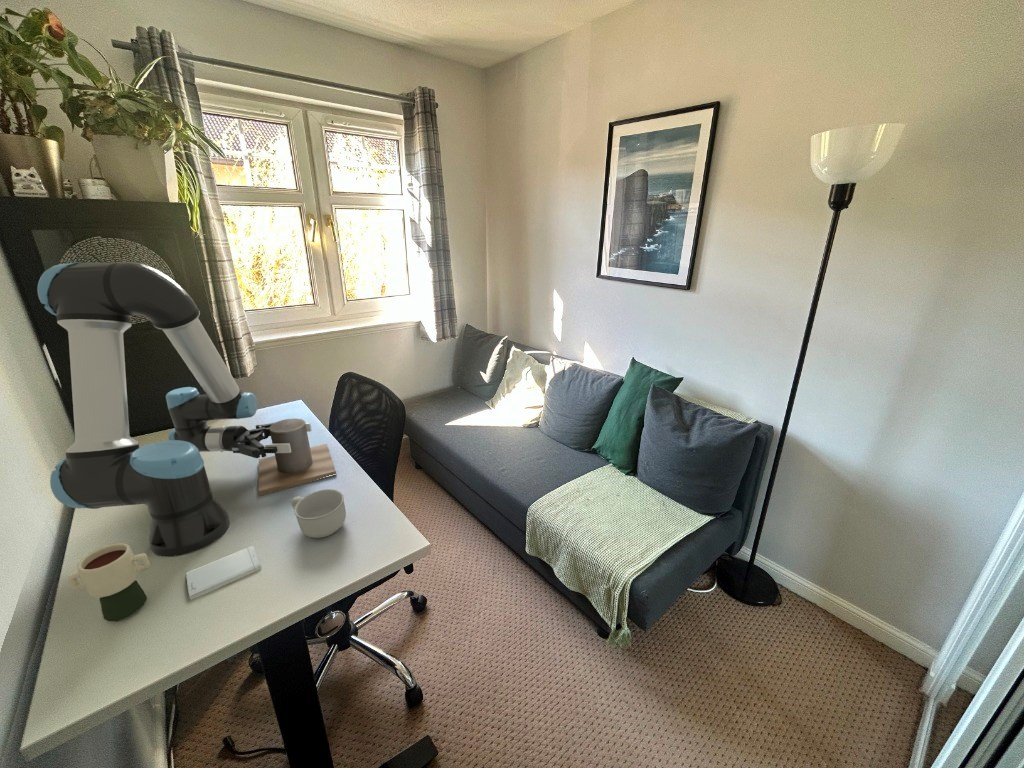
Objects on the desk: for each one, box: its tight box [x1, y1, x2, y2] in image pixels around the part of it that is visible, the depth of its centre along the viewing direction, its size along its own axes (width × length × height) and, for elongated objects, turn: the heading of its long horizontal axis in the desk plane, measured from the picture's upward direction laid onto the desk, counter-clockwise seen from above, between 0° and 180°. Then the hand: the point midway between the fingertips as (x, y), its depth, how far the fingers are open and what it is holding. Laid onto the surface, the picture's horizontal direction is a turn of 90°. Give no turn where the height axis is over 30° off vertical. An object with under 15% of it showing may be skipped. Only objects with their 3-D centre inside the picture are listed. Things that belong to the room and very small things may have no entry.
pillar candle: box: [269, 417, 312, 473], centre depth 123 cm, size 10×10×15 cm
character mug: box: [67, 542, 151, 623], centre depth 76 cm, size 11×7×13 cm, turn 120°
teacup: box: [290, 488, 347, 539], centre depth 99 cm, size 14×11×8 cm
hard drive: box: [185, 545, 262, 601], centre depth 87 cm, size 2×8×12 cm
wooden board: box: [258, 443, 337, 496], centre depth 126 cm, size 20×20×2 cm
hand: (300, 437), depth 123 cm, fingers open, 13 cm apart
